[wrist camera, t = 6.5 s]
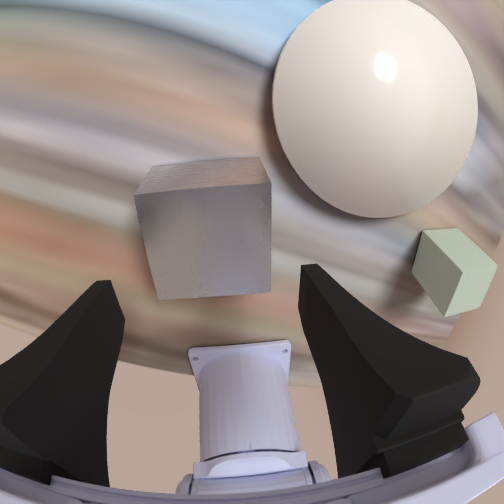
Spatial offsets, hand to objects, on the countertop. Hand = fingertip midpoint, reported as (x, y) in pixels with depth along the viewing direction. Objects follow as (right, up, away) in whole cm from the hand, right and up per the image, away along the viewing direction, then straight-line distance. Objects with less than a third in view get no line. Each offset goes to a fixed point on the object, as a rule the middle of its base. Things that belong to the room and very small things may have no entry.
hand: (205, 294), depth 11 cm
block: (+15, +2, +9) cm, 18 cm away
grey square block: (-1, +4, +6) cm, 7 cm away
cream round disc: (+9, +10, +3) cm, 14 cm away
